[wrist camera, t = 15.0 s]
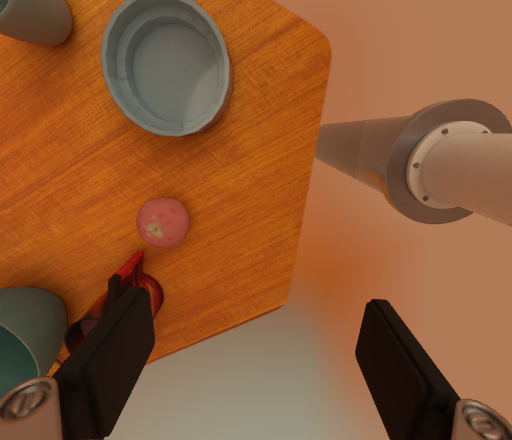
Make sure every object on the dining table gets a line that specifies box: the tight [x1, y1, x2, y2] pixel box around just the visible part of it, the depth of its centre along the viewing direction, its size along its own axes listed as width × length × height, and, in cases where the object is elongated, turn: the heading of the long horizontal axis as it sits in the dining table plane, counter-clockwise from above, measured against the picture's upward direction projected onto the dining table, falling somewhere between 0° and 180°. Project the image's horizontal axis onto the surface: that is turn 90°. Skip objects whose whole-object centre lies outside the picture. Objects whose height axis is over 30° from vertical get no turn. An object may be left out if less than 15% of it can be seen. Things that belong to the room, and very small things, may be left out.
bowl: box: [101, 0, 233, 137], centre depth 32 cm, size 15×15×5 cm
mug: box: [64, 250, 164, 354], centre depth 40 cm, size 10×14×12 cm
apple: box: [136, 198, 190, 248], centre depth 38 cm, size 7×7×8 cm
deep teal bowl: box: [0, 287, 67, 399], centre depth 42 cm, size 18×18×12 cm
